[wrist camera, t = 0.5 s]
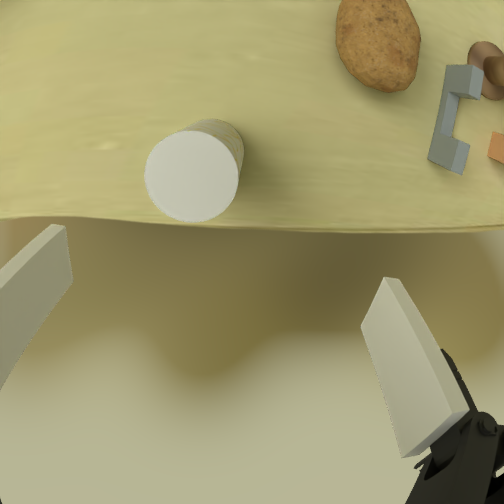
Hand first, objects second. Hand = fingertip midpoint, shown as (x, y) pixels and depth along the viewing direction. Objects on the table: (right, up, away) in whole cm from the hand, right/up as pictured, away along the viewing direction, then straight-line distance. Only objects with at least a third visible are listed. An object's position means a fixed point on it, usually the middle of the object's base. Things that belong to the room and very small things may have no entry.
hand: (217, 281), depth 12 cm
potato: (+15, +26, +16) cm, 34 cm away
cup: (-4, +13, +24) cm, 27 cm away
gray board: (+27, +19, +19) cm, 38 cm away
